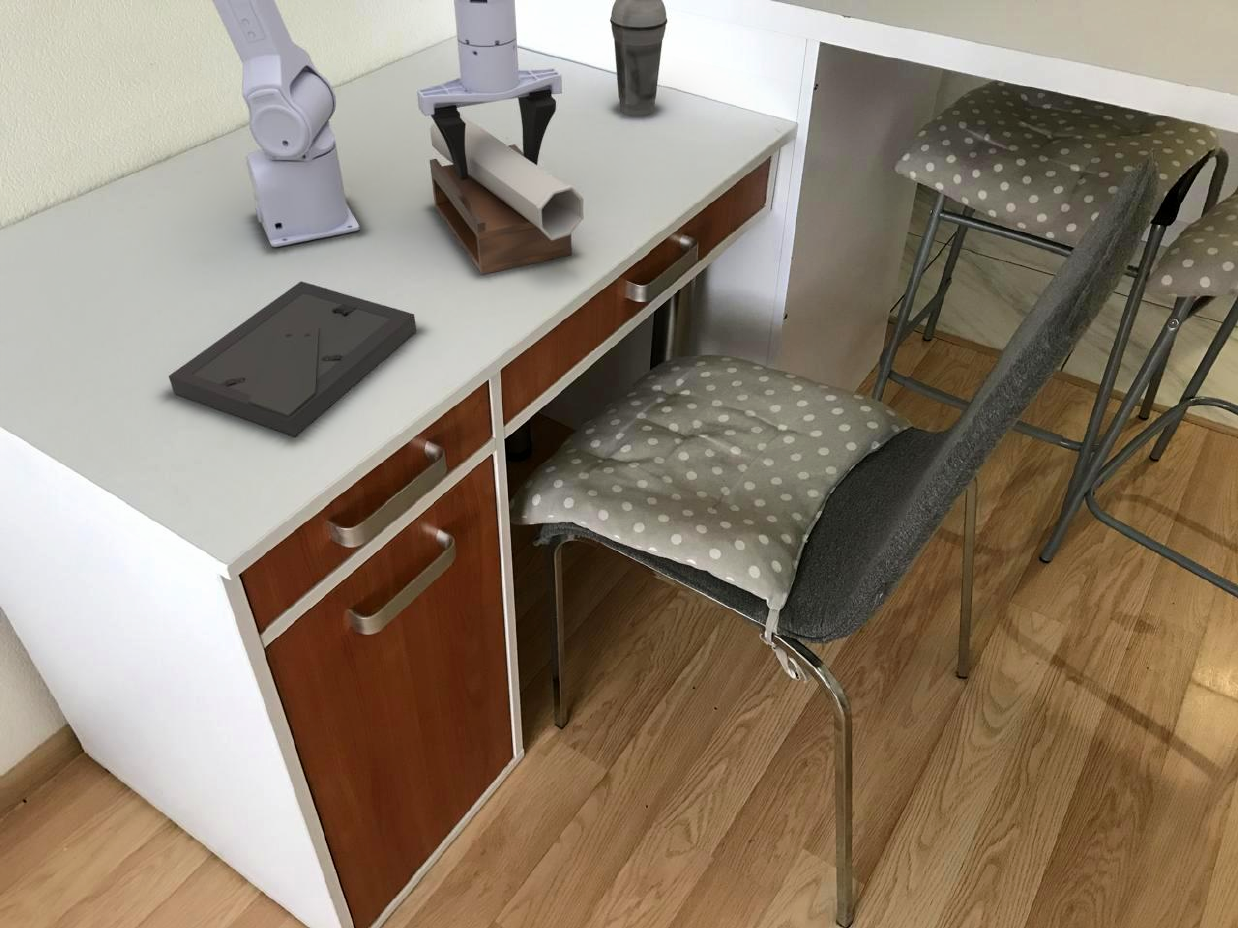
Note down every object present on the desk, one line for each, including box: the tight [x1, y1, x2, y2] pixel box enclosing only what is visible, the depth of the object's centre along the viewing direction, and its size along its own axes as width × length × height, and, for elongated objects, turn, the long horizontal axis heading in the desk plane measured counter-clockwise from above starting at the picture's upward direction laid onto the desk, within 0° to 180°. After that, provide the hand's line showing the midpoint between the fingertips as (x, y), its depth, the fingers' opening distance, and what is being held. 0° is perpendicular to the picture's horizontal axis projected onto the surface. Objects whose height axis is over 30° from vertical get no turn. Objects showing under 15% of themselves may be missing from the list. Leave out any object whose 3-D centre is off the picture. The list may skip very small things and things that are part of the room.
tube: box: [429, 113, 585, 240], centre depth 110 cm, size 5×5×25 cm
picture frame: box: [168, 280, 417, 438], centre depth 95 cm, size 13×2×18 cm
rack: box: [429, 143, 573, 275], centre depth 113 cm, size 10×16×6 cm, turn 25°
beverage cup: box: [609, 0, 668, 117], centre depth 134 cm, size 7×7×20 cm
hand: (496, 169), depth 110 cm, fingers open, 7 cm apart
